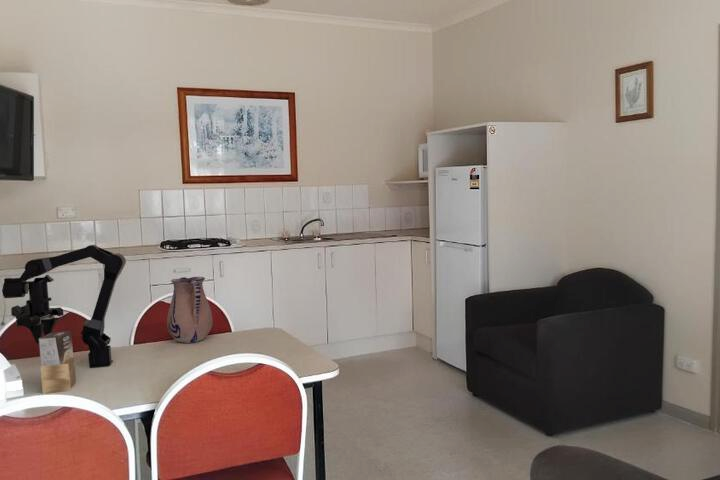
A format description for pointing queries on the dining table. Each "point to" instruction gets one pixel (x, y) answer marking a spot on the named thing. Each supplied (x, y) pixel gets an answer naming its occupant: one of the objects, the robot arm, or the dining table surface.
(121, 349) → the dining table surface
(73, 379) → the tan wooden block
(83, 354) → the dining table surface
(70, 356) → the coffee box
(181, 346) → the dining table surface
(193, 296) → the ceramic pitcher
